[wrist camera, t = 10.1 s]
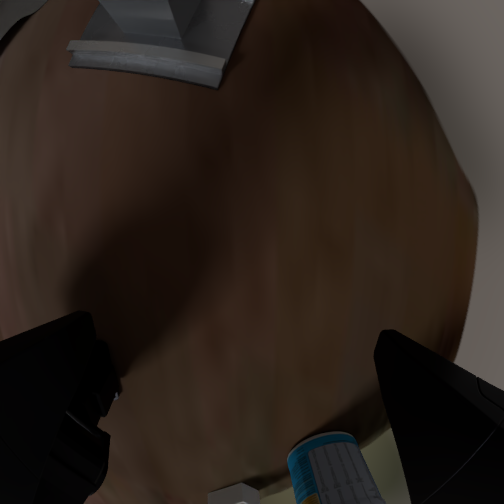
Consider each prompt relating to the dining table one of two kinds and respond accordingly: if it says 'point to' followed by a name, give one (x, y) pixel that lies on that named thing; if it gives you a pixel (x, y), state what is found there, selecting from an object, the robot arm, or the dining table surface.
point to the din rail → (166, 45)
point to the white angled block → (235, 495)
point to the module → (152, 16)
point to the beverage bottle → (331, 471)
